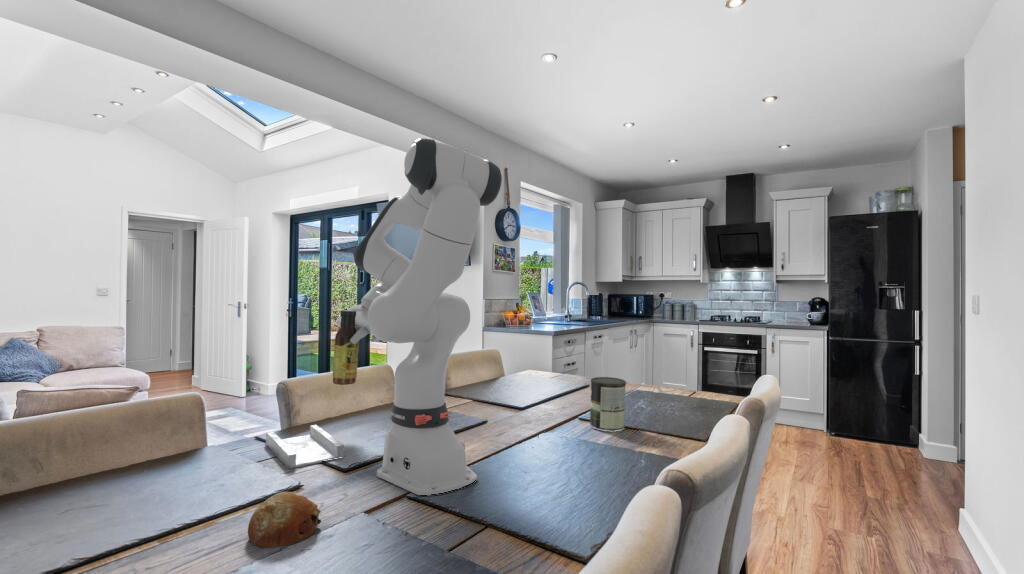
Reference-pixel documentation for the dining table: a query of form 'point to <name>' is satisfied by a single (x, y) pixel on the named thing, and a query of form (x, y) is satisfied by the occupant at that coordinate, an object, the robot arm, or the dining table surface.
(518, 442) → the dining table surface
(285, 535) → the bread roll
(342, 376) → the sauce bottle
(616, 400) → the coffee can
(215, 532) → the dining table surface
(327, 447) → the track
